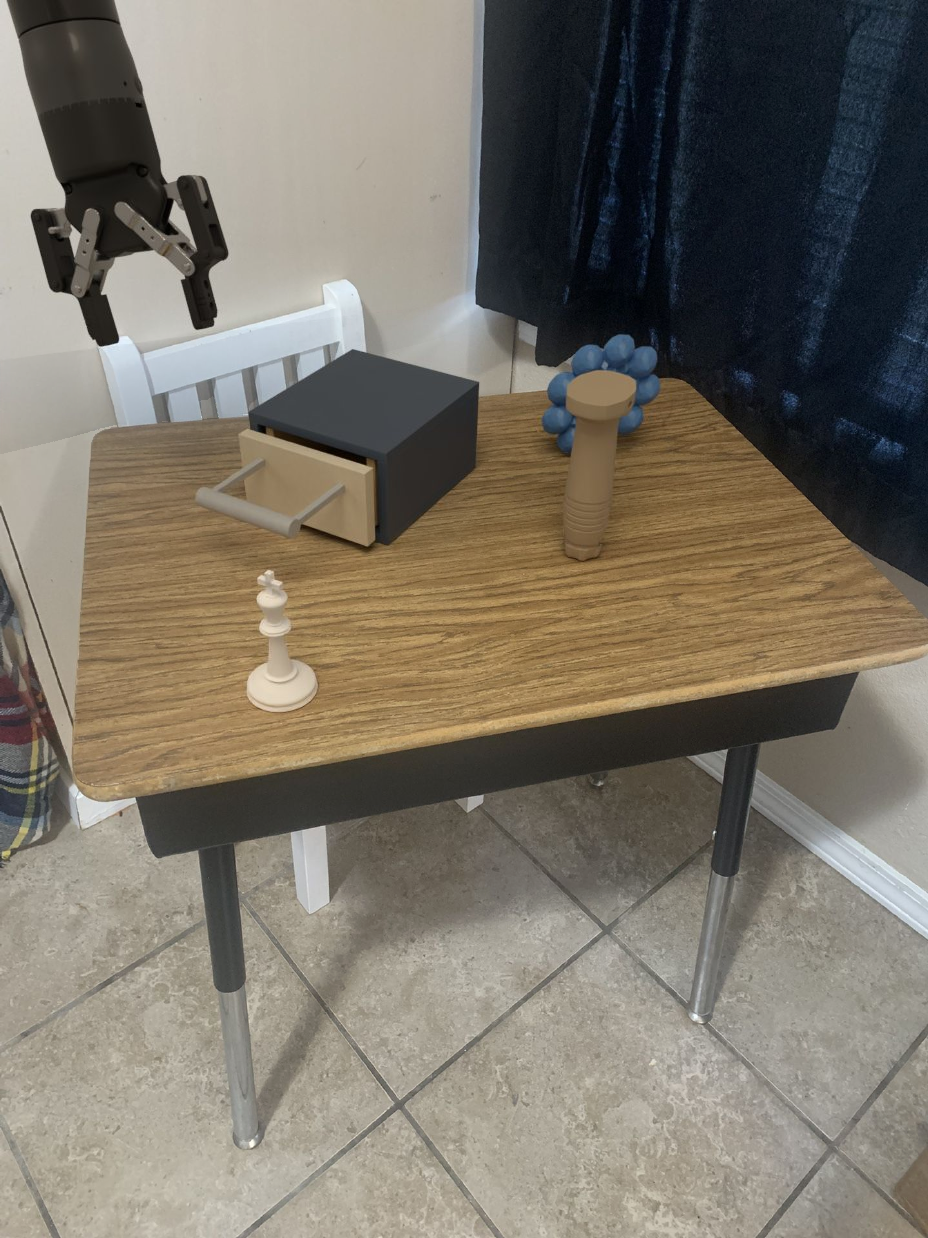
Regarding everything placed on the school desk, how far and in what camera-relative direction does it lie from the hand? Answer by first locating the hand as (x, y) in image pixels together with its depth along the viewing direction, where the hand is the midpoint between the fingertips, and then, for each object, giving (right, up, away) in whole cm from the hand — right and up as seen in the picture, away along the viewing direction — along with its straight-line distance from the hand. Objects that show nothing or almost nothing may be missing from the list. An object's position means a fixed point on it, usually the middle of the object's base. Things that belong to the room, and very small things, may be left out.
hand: (156, 336), depth 76 cm
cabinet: (+15, -9, +15) cm, 23 cm away
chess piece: (+11, -27, -7) cm, 30 cm away
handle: (+34, -16, +8) cm, 38 cm away
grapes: (+37, -5, +22) cm, 43 cm away
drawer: (+12, -12, +10) cm, 20 cm away
